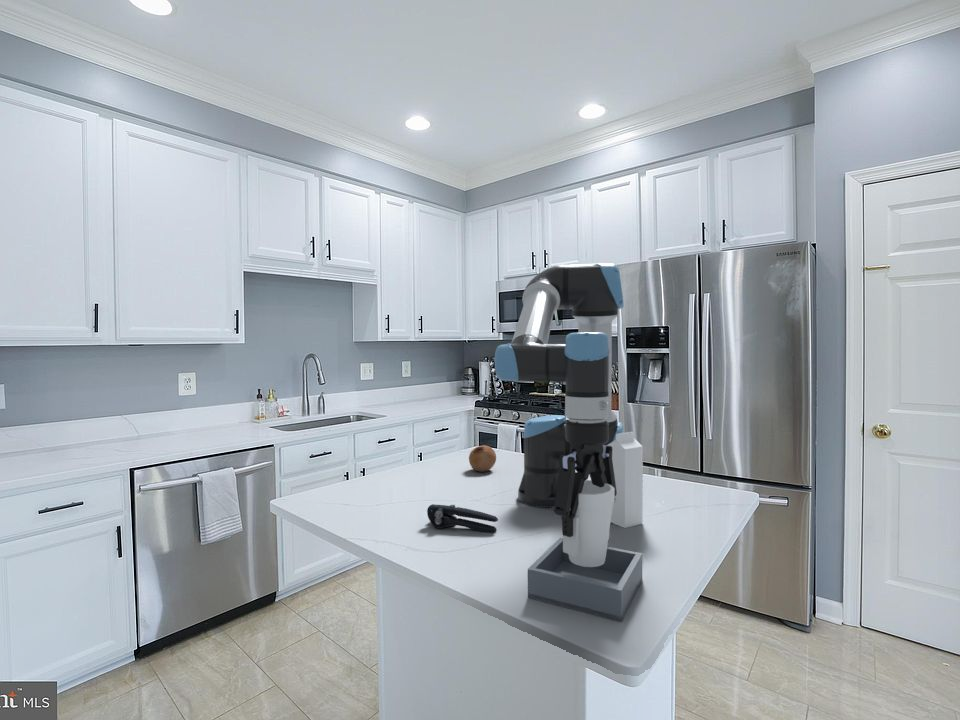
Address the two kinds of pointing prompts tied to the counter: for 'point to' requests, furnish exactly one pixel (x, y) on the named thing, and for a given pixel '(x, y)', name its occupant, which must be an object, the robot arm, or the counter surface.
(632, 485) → the pale carton
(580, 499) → the foam cup
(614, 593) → the bin
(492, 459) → the onion
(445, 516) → the can opener
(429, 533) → the counter surface
